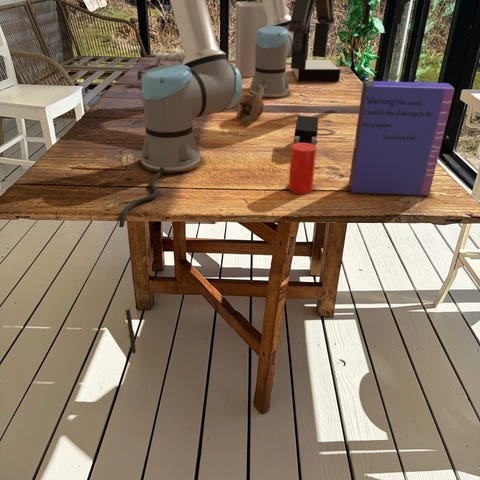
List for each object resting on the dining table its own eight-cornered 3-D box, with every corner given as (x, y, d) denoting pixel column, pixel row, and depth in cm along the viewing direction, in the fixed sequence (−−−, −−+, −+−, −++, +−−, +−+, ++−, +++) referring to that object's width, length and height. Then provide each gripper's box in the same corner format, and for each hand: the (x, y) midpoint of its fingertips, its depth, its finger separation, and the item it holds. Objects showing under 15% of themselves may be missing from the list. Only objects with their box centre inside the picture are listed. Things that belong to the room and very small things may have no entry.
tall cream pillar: (273, 76, 210) (276, 6, 196) (239, 77, 209) (240, 6, 194) (266, 67, 226) (268, 2, 212) (235, 67, 225) (235, 1, 210)
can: (316, 188, 111) (321, 146, 106) (302, 196, 107) (306, 152, 102) (297, 181, 114) (301, 140, 109) (283, 188, 111) (286, 146, 105)
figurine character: (316, 163, 128) (316, 138, 139) (319, 137, 123) (319, 114, 135) (291, 161, 128) (293, 137, 140) (293, 135, 124) (295, 112, 135)
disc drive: (297, 81, 203) (298, 69, 200) (291, 70, 222) (292, 58, 220) (338, 81, 203) (340, 69, 201) (329, 70, 223) (330, 59, 220)
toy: (173, 74, 211) (173, 58, 207) (150, 64, 229) (148, 49, 225) (220, 68, 223) (220, 53, 219) (194, 59, 240) (194, 44, 237)
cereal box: (423, 187, 112) (447, 82, 100) (428, 195, 108) (454, 87, 96) (348, 184, 113) (363, 79, 101) (351, 192, 109) (367, 85, 96)
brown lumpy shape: (251, 126, 162) (245, 130, 148) (232, 108, 161) (224, 111, 147) (276, 97, 158) (272, 99, 144) (257, 79, 157) (251, 79, 143)
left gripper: (321, -63, 74) (307, 77, 86) (358, -60, 94) (342, 54, 105) (276, -64, 77) (268, 72, 88) (321, -61, 96) (310, 50, 108)
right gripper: (366, -46, 153) (357, 26, 164) (429, -45, 161) (416, 24, 172) (353, -46, 159) (345, 23, 170) (415, -45, 167) (403, 21, 178)
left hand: (309, 62), depth 97 cm, fingers open, 13 cm apart
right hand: (381, 24), depth 171 cm, fingers open, 13 cm apart
